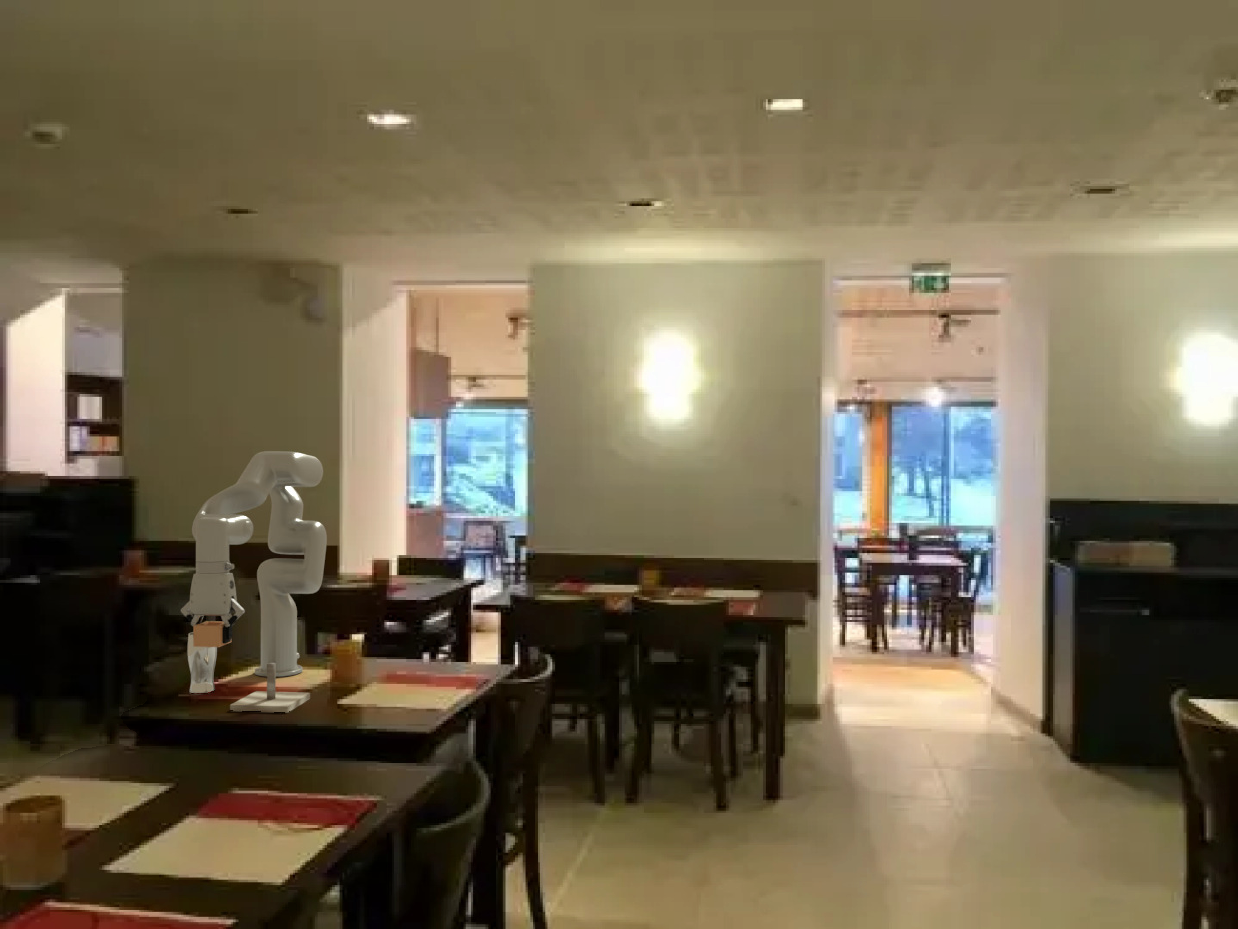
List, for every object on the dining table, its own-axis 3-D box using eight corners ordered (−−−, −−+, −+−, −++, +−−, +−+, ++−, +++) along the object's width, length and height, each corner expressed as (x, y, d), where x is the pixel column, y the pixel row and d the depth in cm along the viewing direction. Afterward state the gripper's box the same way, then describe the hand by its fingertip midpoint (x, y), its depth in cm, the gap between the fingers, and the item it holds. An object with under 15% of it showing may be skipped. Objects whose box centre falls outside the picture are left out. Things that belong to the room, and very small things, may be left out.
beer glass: (221, 689, 271) (221, 631, 271) (208, 695, 264) (208, 636, 264) (196, 688, 272) (196, 630, 272) (182, 694, 265) (182, 635, 265)
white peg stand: (255, 697, 263) (255, 657, 263) (310, 698, 262) (310, 658, 261) (230, 711, 249) (230, 669, 249) (287, 713, 248) (287, 670, 247)
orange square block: (206, 641, 258) (206, 621, 258) (231, 642, 257) (231, 621, 257) (193, 646, 251) (193, 625, 251) (219, 647, 251) (219, 626, 251)
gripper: (253, 567, 257) (253, 640, 257) (186, 565, 259) (186, 638, 259) (240, 570, 249) (240, 646, 250) (170, 569, 251) (170, 644, 251)
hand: (212, 641), depth 254 cm, fingers closed on orange square block, 6 cm apart
